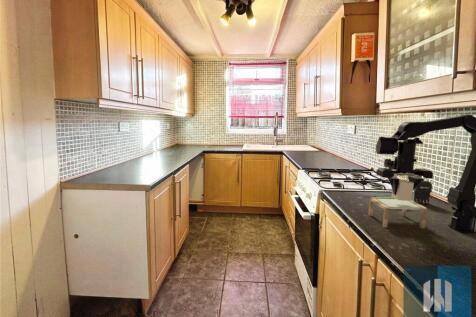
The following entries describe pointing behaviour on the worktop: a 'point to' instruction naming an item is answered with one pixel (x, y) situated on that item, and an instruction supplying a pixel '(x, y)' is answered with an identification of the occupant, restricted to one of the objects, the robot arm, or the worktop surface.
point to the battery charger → (422, 192)
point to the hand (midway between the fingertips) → (401, 194)
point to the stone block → (404, 191)
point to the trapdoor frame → (386, 210)
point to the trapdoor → (399, 204)
